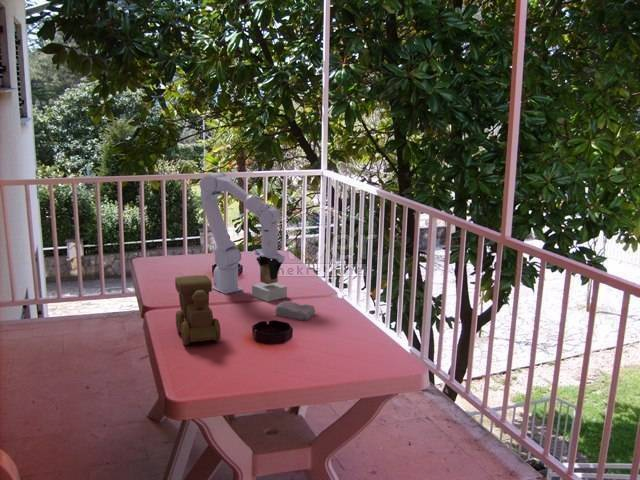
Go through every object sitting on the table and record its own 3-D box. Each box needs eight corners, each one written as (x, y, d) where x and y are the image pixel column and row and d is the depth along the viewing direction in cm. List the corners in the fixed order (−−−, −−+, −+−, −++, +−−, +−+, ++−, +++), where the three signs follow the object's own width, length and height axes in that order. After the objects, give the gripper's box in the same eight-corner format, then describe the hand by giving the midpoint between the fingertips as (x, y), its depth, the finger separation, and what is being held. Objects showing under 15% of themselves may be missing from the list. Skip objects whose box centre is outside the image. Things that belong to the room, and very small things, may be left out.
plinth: (252, 295, 243) (252, 285, 242) (271, 291, 249) (271, 281, 248) (267, 301, 237) (267, 291, 236) (286, 297, 243) (286, 286, 242)
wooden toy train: (173, 327, 210) (172, 276, 206) (209, 323, 213) (208, 273, 210) (184, 350, 191) (182, 295, 188) (223, 345, 195) (222, 291, 192)
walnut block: (260, 281, 242) (260, 265, 240) (270, 279, 245) (270, 263, 243) (267, 284, 238) (267, 268, 237) (277, 282, 241) (277, 266, 240)
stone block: (286, 313, 231) (273, 316, 222) (288, 299, 231) (275, 301, 222) (317, 320, 226) (304, 323, 217) (319, 306, 226) (306, 308, 217)
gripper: (248, 239, 241) (248, 275, 244) (273, 246, 231) (273, 283, 234) (264, 236, 246) (263, 271, 249) (289, 243, 235) (288, 280, 238)
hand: (269, 277), depth 241 cm, fingers closed on walnut block, 4 cm apart
